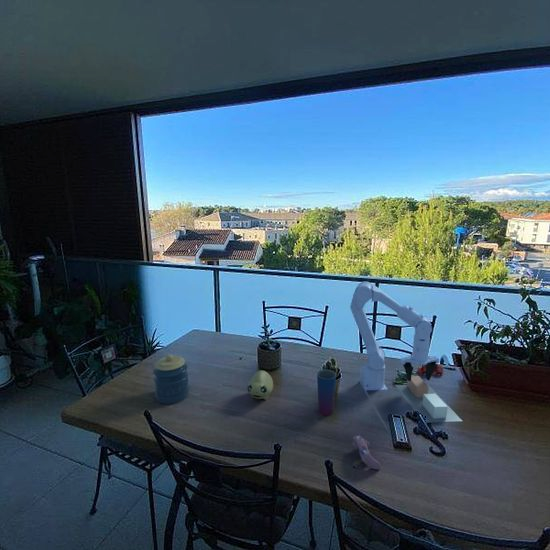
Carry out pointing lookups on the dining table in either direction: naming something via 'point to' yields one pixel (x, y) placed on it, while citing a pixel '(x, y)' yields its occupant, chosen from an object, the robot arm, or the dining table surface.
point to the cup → (326, 391)
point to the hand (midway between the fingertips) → (418, 379)
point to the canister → (171, 379)
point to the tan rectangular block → (417, 386)
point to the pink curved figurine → (365, 452)
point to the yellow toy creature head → (260, 385)
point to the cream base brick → (434, 406)
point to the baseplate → (417, 406)
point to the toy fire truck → (437, 372)
